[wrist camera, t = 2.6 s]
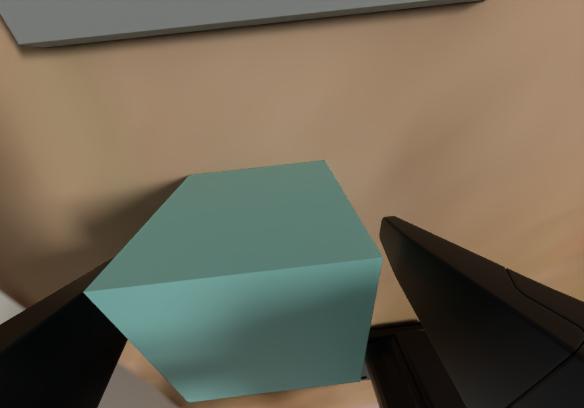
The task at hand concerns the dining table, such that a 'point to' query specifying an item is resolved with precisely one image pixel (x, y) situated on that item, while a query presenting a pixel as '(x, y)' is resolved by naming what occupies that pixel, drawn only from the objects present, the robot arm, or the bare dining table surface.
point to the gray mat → (168, 16)
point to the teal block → (247, 283)
